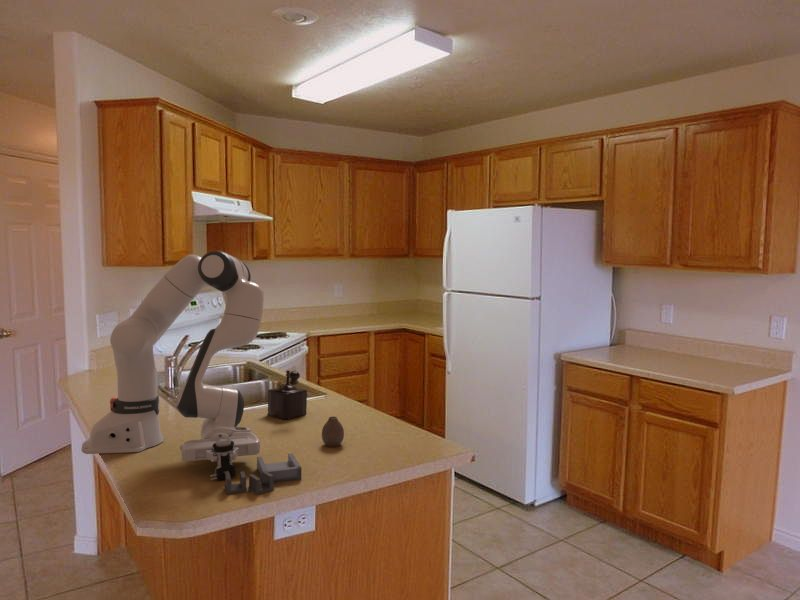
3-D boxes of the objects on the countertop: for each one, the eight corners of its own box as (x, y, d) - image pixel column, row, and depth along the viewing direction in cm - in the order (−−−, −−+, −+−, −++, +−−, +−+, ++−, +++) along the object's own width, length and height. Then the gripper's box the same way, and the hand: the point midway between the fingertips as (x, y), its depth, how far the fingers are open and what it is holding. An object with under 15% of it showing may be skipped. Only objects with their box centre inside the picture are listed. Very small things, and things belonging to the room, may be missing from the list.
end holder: (263, 484, 148) (263, 472, 148) (257, 468, 159) (257, 457, 159) (301, 479, 152) (301, 467, 152) (292, 464, 162) (292, 453, 162)
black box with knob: (265, 415, 210) (265, 366, 209) (289, 409, 219) (289, 362, 217) (293, 423, 200) (293, 372, 199) (316, 417, 209) (317, 368, 207)
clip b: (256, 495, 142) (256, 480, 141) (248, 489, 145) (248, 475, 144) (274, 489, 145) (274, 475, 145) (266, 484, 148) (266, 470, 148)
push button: (214, 484, 147) (212, 446, 146) (206, 478, 151) (204, 441, 150) (239, 477, 151) (237, 440, 150) (231, 471, 155) (228, 435, 154)
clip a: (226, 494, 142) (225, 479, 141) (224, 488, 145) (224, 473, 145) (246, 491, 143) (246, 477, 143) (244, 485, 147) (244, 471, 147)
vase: (326, 449, 175) (326, 421, 174) (318, 443, 181) (318, 415, 180) (347, 446, 178) (347, 419, 177) (339, 440, 184) (339, 413, 183)
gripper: (179, 433, 158) (180, 450, 145) (255, 427, 166) (263, 442, 153) (179, 456, 159) (181, 474, 146) (255, 448, 166) (262, 465, 154)
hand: (223, 458), depth 150 cm, fingers closed on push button, 3 cm apart
